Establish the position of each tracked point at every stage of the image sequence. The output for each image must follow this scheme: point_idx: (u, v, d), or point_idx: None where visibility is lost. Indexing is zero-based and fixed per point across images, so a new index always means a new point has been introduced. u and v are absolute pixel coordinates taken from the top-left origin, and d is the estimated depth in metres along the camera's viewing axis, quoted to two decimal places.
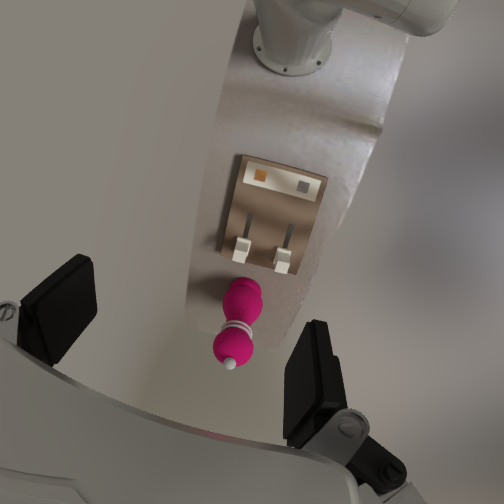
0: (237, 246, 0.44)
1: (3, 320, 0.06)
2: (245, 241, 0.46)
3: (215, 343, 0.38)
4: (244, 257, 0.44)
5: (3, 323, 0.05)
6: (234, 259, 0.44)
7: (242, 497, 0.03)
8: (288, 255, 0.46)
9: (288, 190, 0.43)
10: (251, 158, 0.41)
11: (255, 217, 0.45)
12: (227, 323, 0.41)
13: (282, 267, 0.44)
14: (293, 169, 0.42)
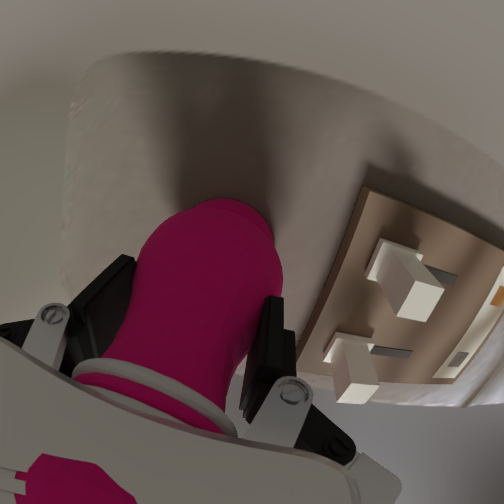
0: None
1: (49, 322, 0.07)
2: None
3: None
4: (414, 316, 0.11)
5: (48, 326, 0.06)
6: (416, 288, 0.11)
7: (242, 497, 0.03)
8: None
9: (464, 341, 0.17)
10: None
11: (445, 290, 0.15)
12: (213, 421, 0.05)
13: (358, 394, 0.14)
14: (484, 342, 0.17)
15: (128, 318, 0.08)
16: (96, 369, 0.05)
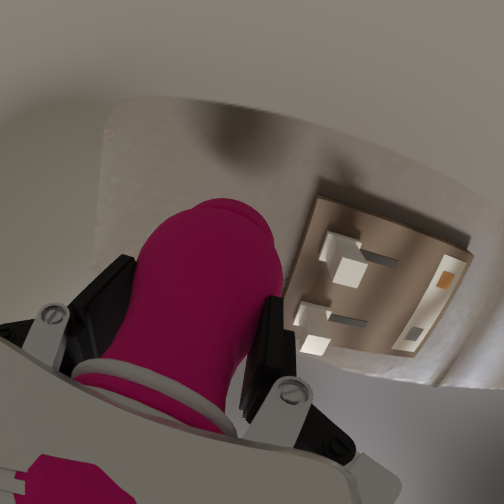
0: None
1: (50, 322, 0.07)
2: None
3: None
4: (346, 283, 0.18)
5: (48, 326, 0.06)
6: (344, 262, 0.18)
7: (242, 497, 0.03)
8: None
9: (415, 317, 0.24)
10: (467, 267, 0.21)
11: (388, 271, 0.23)
12: (212, 422, 0.05)
13: (315, 345, 0.21)
14: (437, 320, 0.24)
15: (128, 318, 0.08)
16: (96, 369, 0.05)
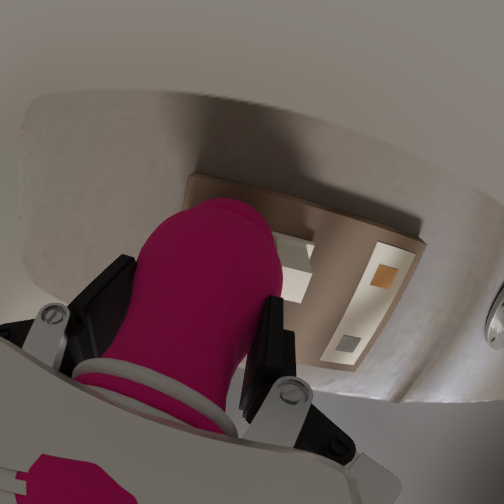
0: None
1: (50, 322, 0.07)
2: None
3: None
4: (286, 296, 0.15)
5: (48, 326, 0.06)
6: None
7: (242, 497, 0.03)
8: None
9: (346, 323, 0.21)
10: (417, 260, 0.18)
11: None
12: (213, 421, 0.05)
13: None
14: (381, 328, 0.21)
15: (128, 318, 0.08)
16: (96, 369, 0.05)
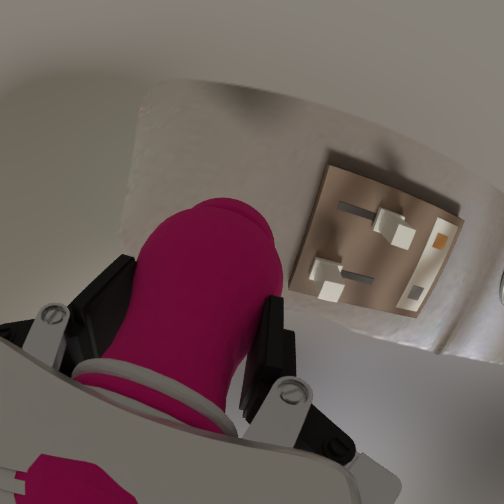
0: None
1: (50, 322, 0.07)
2: None
3: None
4: (400, 245, 0.22)
5: (48, 326, 0.06)
6: (400, 228, 0.21)
7: (242, 497, 0.03)
8: None
9: (416, 276, 0.28)
10: (459, 231, 0.25)
11: None
12: (212, 421, 0.05)
13: (331, 292, 0.25)
14: (436, 280, 0.28)
15: (128, 318, 0.08)
16: (95, 369, 0.05)
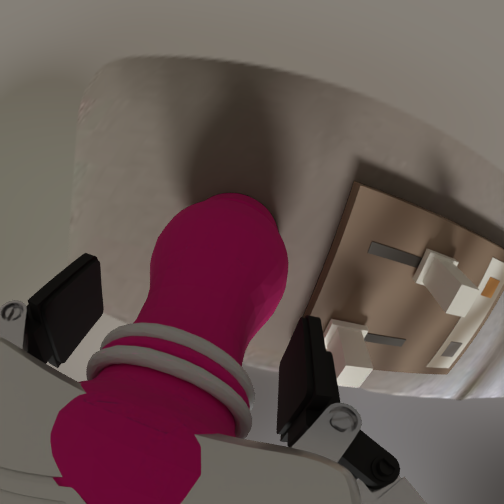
0: None
1: (10, 319, 0.06)
2: None
3: None
4: (457, 312, 0.13)
5: (10, 323, 0.06)
6: (461, 290, 0.12)
7: (242, 497, 0.03)
8: None
9: (456, 331, 0.18)
10: None
11: None
12: (234, 375, 0.06)
13: (352, 377, 0.15)
14: (476, 332, 0.19)
15: (152, 295, 0.09)
16: (129, 333, 0.06)
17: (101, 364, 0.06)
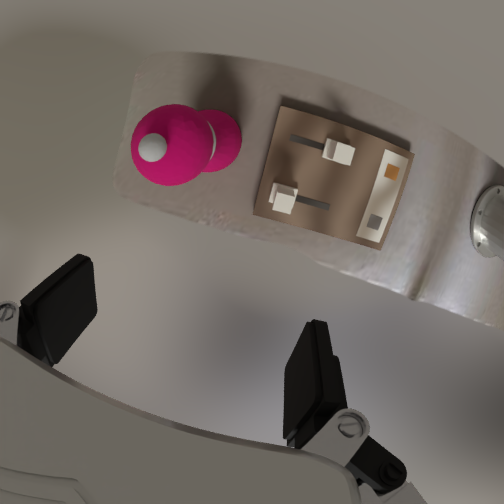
0: None
1: (3, 320, 0.06)
2: None
3: (185, 109, 0.16)
4: (342, 161, 0.26)
5: (3, 323, 0.05)
6: (339, 145, 0.26)
7: (242, 497, 0.03)
8: None
9: (372, 204, 0.32)
10: (410, 163, 0.29)
11: None
12: (208, 125, 0.20)
13: (283, 203, 0.29)
14: (394, 211, 0.32)
15: None
16: None
17: None
